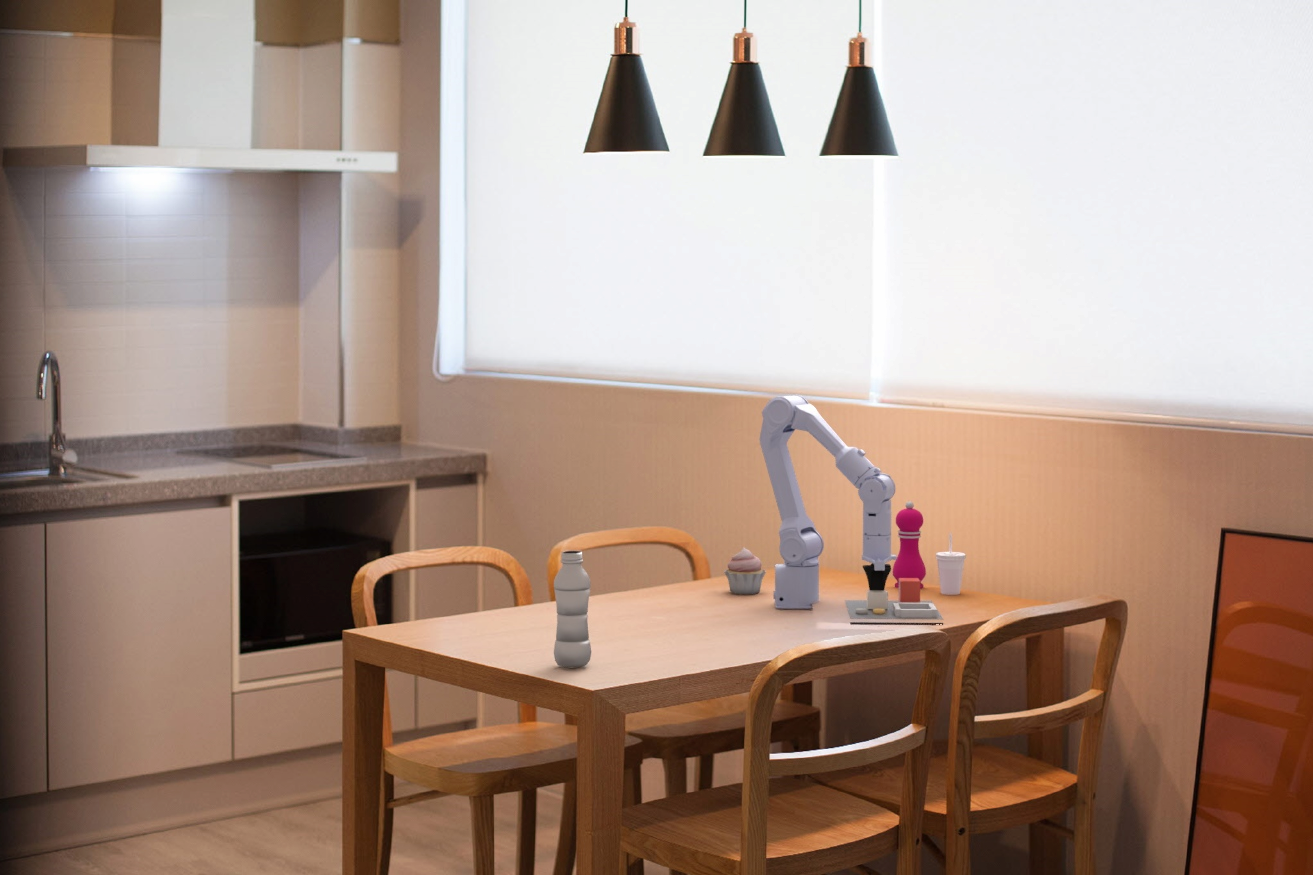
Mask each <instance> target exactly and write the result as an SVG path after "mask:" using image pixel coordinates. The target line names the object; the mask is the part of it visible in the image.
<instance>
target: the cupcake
mask: <svg viewBox="0 0 1313 875" xmlns="http://www.w3.org/2000/svg"><path fill="white" fill-rule="evenodd" d="M723 572H724V575H725V577H726V579H727V582H728V585H729V586H728V587H729V590H730V593H732V594H735V595H739V594H752V595H757V594H759V593H760V592H761V587H762V583H763V579H764V577H765V575H766V573H767V570H765V569H762V561H761V560H760V558H759V557H757V556H756V555H754V554H753V553H752V552H751V550H749V549H747V548H745V547H744V546H743V548H742V549H741V550H740V551H739V552H737V553H736V554H734V555H733V556H732V557H731V560H729V562H728V563H727V569H724V571H723Z"/></svg>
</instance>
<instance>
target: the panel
mask: <svg viewBox="0 0 1313 875" xmlns="http://www.w3.org/2000/svg"><path fill="white" fill-rule="evenodd" d="M844 602H845V606H846V608H847V612H848V615H849V619H851V620H863V619H864V620H944V618H943V616H942V615H941V613H940V611H939V610H938V608H937V607H936V605H935V604H934V602H933V600H920V603H899V600H888V609H881V608H876V609H868V608H867V599H866V600H860V599H859V600H855V599H854V600H853V599H851V600H847V599H845V600H844ZM849 624H850V625H853V626H854V625H858V626H860V625H863V626H864V625H865V626H874V625H875V626H884V625H885V626H937V625H936V624H939V625H938V626H944V623H943V622H887V621H886V622H885V621H884V622H880V621H879V622H878V621H877V622H876V621H875V622H874V621H873V622H871V621H868V622H866V621H865V622H863V621H856V622H855V621H853V622H851V621H849ZM940 624H942V625H940Z"/></svg>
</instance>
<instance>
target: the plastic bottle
mask: <svg viewBox="0 0 1313 875" xmlns="http://www.w3.org/2000/svg"><path fill="white" fill-rule="evenodd" d="M560 555H561V556H560V558H561V560H560V563H561V564H562V565H561V567H560V569H559V570H558V572H557V573H556V575H555V577H554V580H553V589H554V596H555V606H556V613H557V614H556V618H557V619H556V622H557V623H556V634H555V641H554V648H553V656H554V657H553V658H554V662H555V663H556V665H557V666H559V667H563V668H568V667H576V668H581V667H584V666H587V665H588V664H589V662H590V660H591V657H592V646H591V642H590V639H589V638H590V635H589V626H588V625H589V623H588V618H589V616H588V612H589V599H590V593H591V583H592V582H591V579H590V575H589V574H588V573H587V571H586V570H585V569H584V567H583V566H582V563H584V559H583V551H581V550H564V551H561V554H560Z"/></svg>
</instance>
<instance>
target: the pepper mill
mask: <svg viewBox="0 0 1313 875" xmlns="http://www.w3.org/2000/svg"><path fill="white" fill-rule="evenodd" d="M914 506H915V505H914V503H913V501H909V500H908V501H906V502H905V508H903V509H901V510H900V511H898V512H897V514H896V516H895V524H896V527H898V529H899V530H898V531H897V533H898V535H897V537H898V538H899V543H900V544H899V552H898V554H897V559H896V560H895V561H894V563H893V567H892V577H893V578H894V579H895V580H896V582H895V583H894V588H897V589H899V578H918V579H919V580H920V589H923V588H924V583H922V581H923V579H925V578H926V575H927V571H926V565H925V563H924V561H923V558H922V555H921V553H920V549H919V543H920V542H919V541H920V538H921V537H922V536H921V533H922V531H921V530H920V529H921V527H923V525H924V516H923V514H922V512H921V511H919V510H918V509H916V508H914Z"/></svg>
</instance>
